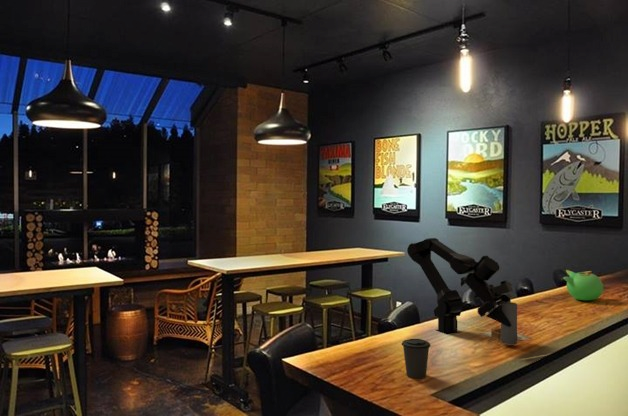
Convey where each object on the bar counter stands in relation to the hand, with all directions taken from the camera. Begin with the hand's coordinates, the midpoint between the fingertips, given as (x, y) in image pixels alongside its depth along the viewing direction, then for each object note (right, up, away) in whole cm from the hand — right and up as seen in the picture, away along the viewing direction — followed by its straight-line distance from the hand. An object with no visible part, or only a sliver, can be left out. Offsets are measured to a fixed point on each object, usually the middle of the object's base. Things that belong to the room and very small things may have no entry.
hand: (513, 324), depth 160 cm
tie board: (+3, -8, +14) cm, 16 cm away
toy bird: (+67, -7, +78) cm, 103 cm away
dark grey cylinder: (-1, -6, +1) cm, 6 cm away
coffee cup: (-38, -9, -25) cm, 46 cm away
